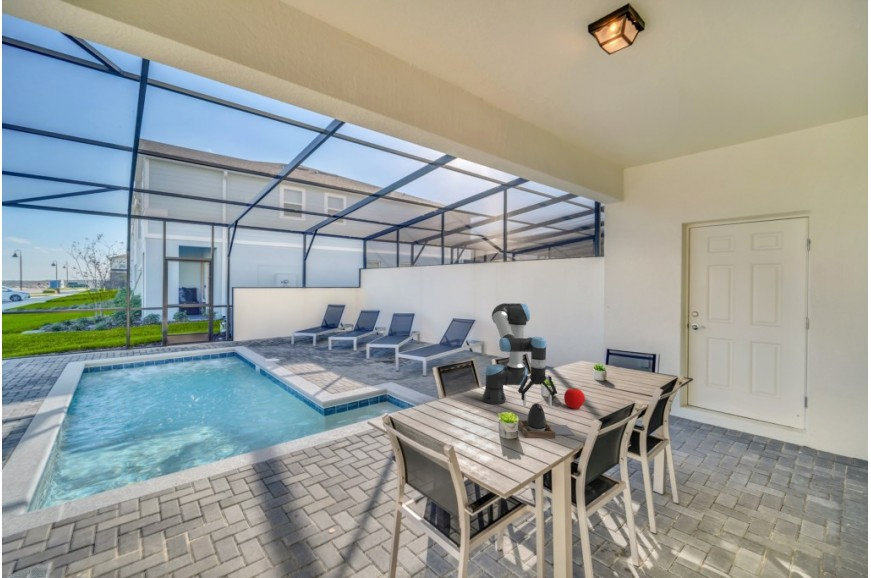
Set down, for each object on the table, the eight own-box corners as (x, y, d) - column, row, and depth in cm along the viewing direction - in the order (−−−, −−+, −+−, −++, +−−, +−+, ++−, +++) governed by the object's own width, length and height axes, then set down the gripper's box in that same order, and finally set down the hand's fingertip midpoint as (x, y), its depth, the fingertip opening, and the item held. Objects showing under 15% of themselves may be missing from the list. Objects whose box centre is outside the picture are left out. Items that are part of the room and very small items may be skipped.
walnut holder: (518, 425, 209) (518, 420, 209) (546, 425, 209) (546, 420, 209) (525, 437, 193) (525, 432, 193) (555, 438, 193) (555, 432, 193)
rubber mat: (546, 425, 209) (546, 424, 209) (566, 426, 209) (566, 425, 209) (553, 435, 197) (553, 434, 197) (574, 435, 197) (574, 434, 197)
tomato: (563, 409, 235) (564, 389, 234) (563, 403, 246) (564, 384, 245) (585, 412, 231) (585, 391, 230) (584, 405, 242) (584, 386, 241)
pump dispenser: (532, 436, 195) (533, 407, 194) (522, 428, 205) (523, 401, 204) (550, 434, 198) (551, 406, 197) (539, 426, 208) (540, 399, 207)
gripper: (516, 368, 196) (515, 408, 196) (564, 368, 196) (563, 409, 196) (513, 364, 203) (512, 403, 204) (559, 365, 203) (558, 404, 204)
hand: (537, 406), depth 200 cm, fingers open, 13 cm apart
